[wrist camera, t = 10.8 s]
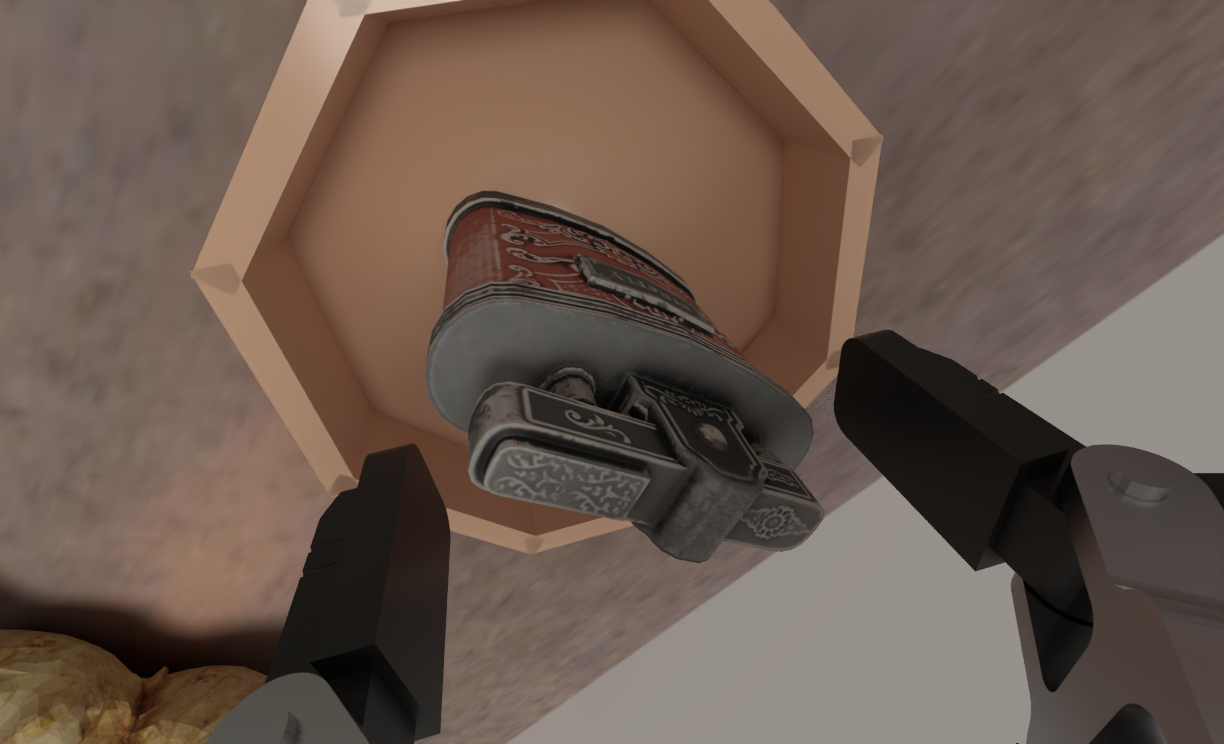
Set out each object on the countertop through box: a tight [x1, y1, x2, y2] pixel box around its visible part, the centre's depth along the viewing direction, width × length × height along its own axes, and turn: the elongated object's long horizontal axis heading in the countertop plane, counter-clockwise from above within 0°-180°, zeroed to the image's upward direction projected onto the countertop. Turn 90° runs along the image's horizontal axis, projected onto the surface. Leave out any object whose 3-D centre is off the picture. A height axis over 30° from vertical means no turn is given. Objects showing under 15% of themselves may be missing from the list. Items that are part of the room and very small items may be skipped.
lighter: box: [424, 190, 825, 563], centre depth 12 cm, size 8×3×10 cm, turn 62°
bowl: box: [190, 0, 884, 555], centre depth 15 cm, size 16×16×4 cm
